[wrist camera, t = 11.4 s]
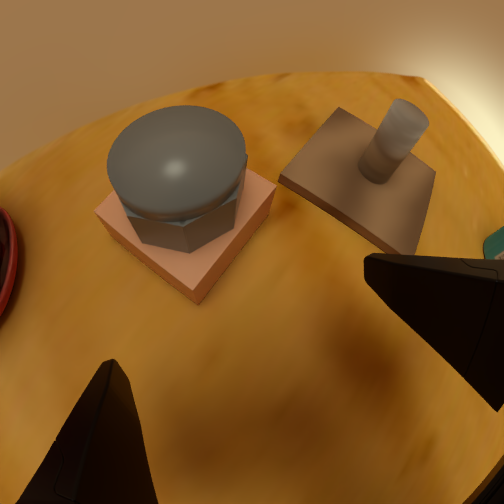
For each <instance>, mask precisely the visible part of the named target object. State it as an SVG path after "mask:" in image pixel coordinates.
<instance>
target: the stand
mask: <svg viewBox="0 0 504 504" xmlns="http://www.w3.org/2000/svg"><path fill="white" fill-rule="evenodd" d="M276 187H277V186H276V185H275V184H273V183H271V182H269V181H268V180H266V179H264V178H263V177H261V176H259V175H258V174H256V173H254V172H252V171H251V170H249V169H247V168H246V173H245V180H244V188H243V191H242V195H241V199H240V203H239V207H238V211H237V215H236V220H235V224H234V229H232V230H230V231H228V232H227V233H225V234H223V235H221V236H220V237H218V238H216V239H214V240H213V241H211V242H209V243H207V244H206V245H204V246H202V247H200V248H199V249H197V250H195V251H193V252H192V253H190V254H189V253H185V252H180V251H175V250H171V249H166V248H162V247H157V246H153V245H148V244H143V243H142V242H141V241H140V239H139V237H138V235H137V234H136V232H135V230H134V228H133V227H132V225H131V223H130V221H129V219H128V217H127V215H126V212H125V210H124V208H123V206H122V204H121V202H120V200H119V198H118V196H117V194H116V192H115V190H114V191H113V192H112V193H111V194H110V195H109V196H108V197H107V198H106V199H105V200H104V201H103V202H102V203H101V204H100V205H99V206H98V207H97V208H96V209H95V210H94V212H95V214H96V215H97V217H98V218H99V219H100V221H101V222H102V224H103V225H104V227H105V228H106V229H107V231H108V232H109V233H110V235H111V236H112V237H113V238H114V239H115V240H116V241H118V242H119V243H120V244H121V245H122V246H124V247H125V248H126V249H127V250H128V251H130V252H131V253H132V254H133V255H134V256H136V257H137V258H138V259H139V260H140V261H142V262H143V263H144V264H145V265H147V266H148V267H149V268H150V269H152V270H153V271H154V272H155V273H157V274H158V275H159V276H160V277H162V278H163V279H164V280H166V281H167V282H168V283H169V284H171V285H172V286H173V287H175V288H176V289H177V290H179V291H180V292H181V293H183V294H184V295H185V296H186V297H188V298H189V299H191V300H192V301H193V302H195V303H196V304H197V305H199V304H200V302H201V301H202V300H203V298H204V297H205V296H206V294H207V293H208V292H209V291H210V289H211V288H212V287H213V285H214V284H215V283H216V281H217V280H218V279H219V278H220V276H221V275H222V274H223V272H224V271H225V270H226V268H227V267H228V266H229V265H230V263H231V262H232V261H233V259H234V258H235V257H236V255H237V254H238V253H239V252H240V250H241V249H242V248H243V246H244V245H245V244H246V242H247V241H248V240H249V239H250V237H251V236H252V235H253V233H254V232H255V231H256V230H257V228H258V227H259V226H260V224H261V223H262V222H263V221H264V219H265V218H266V217H267V215H268V213H269V210H270V207H271V203H272V200H273V197H274V193H275V190H276Z"/></svg>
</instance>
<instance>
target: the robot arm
mask: <svg viewBox="0 0 504 504" xmlns="http://www.w3.org/2000/svg"><path fill="white" fill-rule="evenodd" d="M364 279H365V281H366V283H367V284H368V285H369V286H370V287H371V288H372V289H373V290H374V291H375V293H376V294H377V295H378V296H379V297H380V298H381V299H382V300H383V301H384V302H385V303H386V305H387V306H388V307H389V308H390V309H391V310H392V311H393V312H394V313H396V314H397V315H398V316H399V317H400V318H401V319H402V320H403V321H404V322H405V323H407V324H408V325H409V326H410V327H411V328H412V329H413V330H414V331H415V332H416V333H417V334H419V335H420V336H421V337H422V338H423V339H424V340H425V341H426V342H427V343H428V344H429V345H430V346H431V347H432V348H433V349H434V350H435V351H437V352H438V353H439V354H440V355H441V356H442V357H443V358H444V359H445V360H446V361H447V362H448V363H449V364H450V365H451V366H452V367H453V368H454V369H455V370H456V371H457V372H458V373H459V374H460V375H461V376H462V377H464V379H465V380H466V381H467V382H468V383H469V384H470V385H471V386H472V387H473V388H474V389H475V390H476V391H477V392H478V393H479V394H480V396H481V397H482V398H483V399H484V400H485V401H486V402H487V403H488V404H489V405H490V406H491V407H492V408H493V409H494V410H495V411H496V412H498V411H499V410H500V408H501V407H502V405H503V404H504V259H467V258H459V259H458V258H450V257H434V256H418V255H401V254H384V253H372V254H370V255H368V256H366V257H365V258H364ZM15 504H158V500H157V497H156V493H155V489H154V486H153V482H152V478H151V474H150V469H149V465H148V460H147V456H146V451H145V446H144V441H143V435H142V429H141V424H140V420H139V416H138V413H137V409H136V405H135V401H134V398H133V394H132V390H131V385H130V382H129V379H128V377H127V376H126V374H125V373H124V371H123V370H122V368H121V367H120V365H119V364H118V362H117V361H116V360H115V359H110V360H107V361H104V362H102V364H101V365H100V367H99V368H98V370H97V371H96V373H95V375H94V376H93V378H92V379H91V381H90V382H89V384H88V386H87V387H86V389H85V390H84V392H83V393H82V395H81V397H80V398H79V400H78V402H77V403H76V405H75V406H74V408H73V410H72V411H71V413H70V415H69V416H68V418H67V420H66V422H65V423H64V425H63V427H62V428H61V430H60V432H59V434H58V435H57V437H56V441H54V442H53V444H52V446H51V448H50V450H49V451H48V453H47V455H46V456H45V458H44V460H43V462H42V463H41V465H40V466H39V468H38V470H37V471H36V473H35V474H34V476H33V477H32V479H31V481H30V482H29V484H28V485H27V487H26V488H25V490H24V492H23V493H22V495H21V496H20V498H19V500H18V501H17V502H16V503H15ZM462 504H504V455H503V456H502V457H501V459H500V460H499V461H498V463H497V464H496V465H495V467H494V468H493V469H492V470H491V472H490V473H489V474H488V475H487V477H486V478H485V479H484V480H483V481H482V483H481V484H480V485H479V486H478V487H477V488H476V490H475V491H474V492H473V493H472V494H471V495H470V496H469V497H468V498H467V499H466V500H465V501H464V502H463V503H462Z"/></svg>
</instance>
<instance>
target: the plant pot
mask: <svg viewBox="0 0 504 504" xmlns="http://www.w3.org/2000/svg"><path fill="white" fill-rule="evenodd" d="M17 260H18V246H17V237H16V232H15V227H14V224H13V222H12V219H11V217H10V216H9V214H8V213H7V212H6V211H5V210H4V209H3V208H1V207H0V316H1V314H2V312H3V311H4V309H5V307H6V304H7V302H8V299H9V297H10V294H11V291H12V288H13V284H14V280H15V276H16V270H17Z"/></svg>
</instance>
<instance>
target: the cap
mask: <svg viewBox="0 0 504 504" xmlns="http://www.w3.org/2000/svg"><path fill="white" fill-rule="evenodd" d="M247 158H248V155H247V154H246V153H245V141H244V138H243V135H242V133H241V131H240V130H239V128H238V127H237V126H236V124H235V123H234V122H233V121H231V120H230V119H229V118H228V117H226V116H225V115H223V114H221V113H219V112H217V111H214V110H212V109H208V108H204V107H199V106H172V107H167V108H163V109H159V110H156V111H153V112H151V113H148V114H146V115H144V116H142V117H140V118H139V119H137V120H135V121H134V122H133V123H131V124H130V125H129V126H128V127H126V128H125V129H124V130H123V131H122V132H121V133H120V135H119V136H118V137H117V138H116V140H115V141H114V143H113V145H112V147H111V149H110V152H109V155H108V159H107V172H108V176H109V179H110V182H111V184H112V186H113V188H114V190H115V192H116V194H117V196H118V198H119V200H120V202H121V204H122V206H123V208H124V210H125V212H126V215H127V217H128V219H129V221H130V223H131V225H132V227H133V228H134V230H135V232H136V234H137V235H138V237H139V239H140V241H141V242H142V243H143V244H148V245H153V246H157V247H162V248H166V249H171V250H175V251H180V252H185V253H189V254H190V253H192V252H193V251H195V250H197V249H199V248H200V247H202V246H204V245H206V244H207V243H209V242H211V241H213V240H214V239H216V238H218V237H220V236H221V235H223V234H225V233H227V232H228V231H230V230H232V229H234V224H235V220H236V215H237V211H238V207H239V203H240V199H241V195H242V191H243V188H244V180H245V173H246V166H247Z"/></svg>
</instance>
